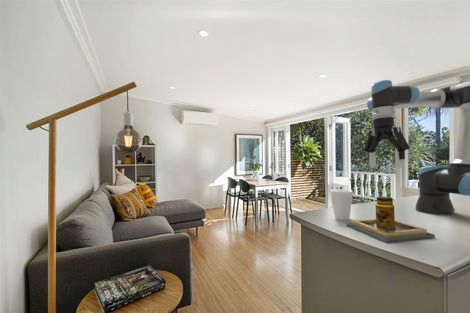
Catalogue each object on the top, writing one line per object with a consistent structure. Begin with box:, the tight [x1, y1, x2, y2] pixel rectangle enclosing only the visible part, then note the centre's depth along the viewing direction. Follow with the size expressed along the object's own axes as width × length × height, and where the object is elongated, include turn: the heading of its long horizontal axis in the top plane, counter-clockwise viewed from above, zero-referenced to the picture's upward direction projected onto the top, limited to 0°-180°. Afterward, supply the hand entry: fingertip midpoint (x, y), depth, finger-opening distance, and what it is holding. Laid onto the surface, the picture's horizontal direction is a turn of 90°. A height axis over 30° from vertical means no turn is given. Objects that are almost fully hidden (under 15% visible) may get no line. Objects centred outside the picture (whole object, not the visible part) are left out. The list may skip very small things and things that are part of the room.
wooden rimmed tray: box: [345, 218, 436, 244], centre depth 89 cm, size 20×20×2 cm
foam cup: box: [330, 188, 354, 221], centre depth 109 cm, size 10×9×13 cm
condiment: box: [374, 196, 398, 231], centre depth 90 cm, size 7×8×12 cm
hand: (385, 167), depth 100 cm, fingers open, 13 cm apart
